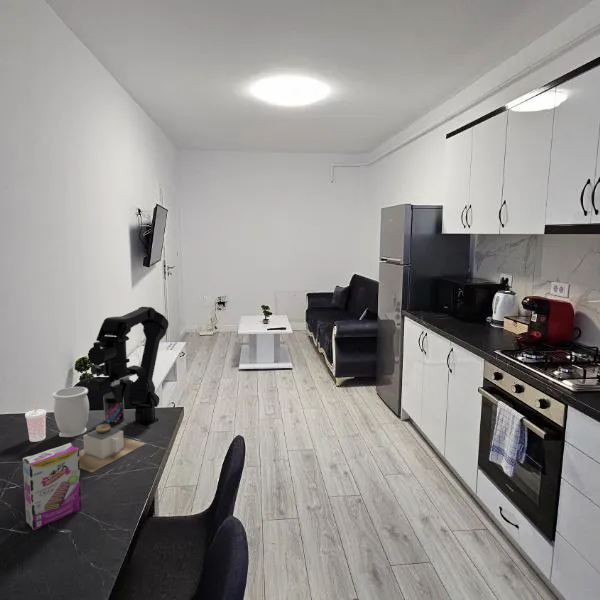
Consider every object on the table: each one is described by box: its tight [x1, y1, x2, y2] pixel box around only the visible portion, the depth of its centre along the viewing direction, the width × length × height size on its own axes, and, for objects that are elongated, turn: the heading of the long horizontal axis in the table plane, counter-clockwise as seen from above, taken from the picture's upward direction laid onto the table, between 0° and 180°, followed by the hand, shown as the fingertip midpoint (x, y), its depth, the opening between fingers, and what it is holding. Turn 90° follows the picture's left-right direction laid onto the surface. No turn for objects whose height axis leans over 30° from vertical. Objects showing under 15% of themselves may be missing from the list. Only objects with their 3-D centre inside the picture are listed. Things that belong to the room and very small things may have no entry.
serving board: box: [79, 436, 146, 473], centre depth 139 cm, size 20×14×1 cm
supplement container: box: [102, 391, 125, 426], centre depth 162 cm, size 7×7×10 cm
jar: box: [52, 386, 90, 438], centre depth 152 cm, size 11×10×15 cm
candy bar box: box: [22, 442, 82, 531], centre depth 108 cm, size 11×5×16 cm, turn 141°
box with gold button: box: [82, 426, 124, 460], centre depth 138 cm, size 8×10×7 cm
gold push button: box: [95, 423, 111, 433], centre depth 139 cm, size 5×5×7 cm
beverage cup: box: [24, 397, 47, 443], centre depth 148 cm, size 6×6×14 cm
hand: (119, 402), depth 147 cm, fingers closed
